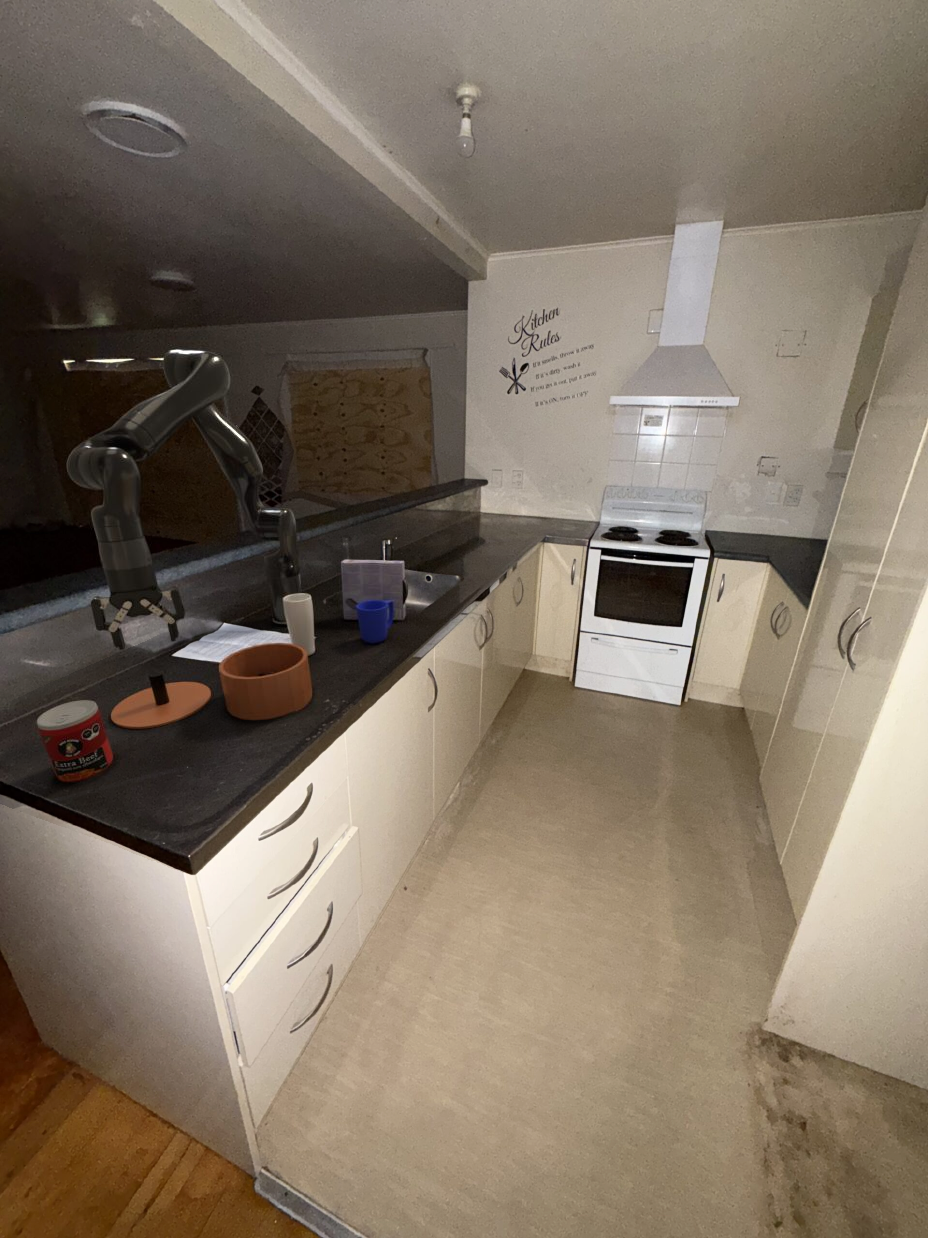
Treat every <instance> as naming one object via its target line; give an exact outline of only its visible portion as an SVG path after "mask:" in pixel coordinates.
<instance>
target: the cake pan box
mask: <svg viewBox="0 0 928 1238" xmlns="http://www.w3.org/2000/svg"><path fill="white" fill-rule="evenodd" d="M405 568H406V567H405V561H404V560H378V559H343V560H341V561H340V572H341V592H342V609H343V610H342V612H343V619H344V621H346V620H347V621H348V620H352V621H353V620H355V621H356V620H358V615H357V609H356V605H357V604H358V603H360V602H363V601H368V600H381V601H387V600H392V601H393V603H394V610H393V621H405V618H406V615H407V613H406V611H407V610H406V601H407V598H408V596H409V584H408V581H407V579H406V575H405V573H406V572H405ZM388 620H389V604H388ZM388 620H387V621H388Z"/></svg>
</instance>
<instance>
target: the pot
mask: <svg viewBox="0 0 928 1238" xmlns="http://www.w3.org/2000/svg"><path fill="white" fill-rule="evenodd" d="M272 671H275V674H270V675H269V672H272ZM218 672H219V676H220V681H221V686H222V691H223V696H224V700H225V705H226V710H227V712H228V713H229V714H230V715H231V716H233V717H235V718H238V719H241V720H247V721H261V720H271V719H274V718H275V719H276V718H278V717H283V716H285V715H288V714H290V713H293V712H295V713H297V712H299V711H301V710H302V709H304V708H305V707H306V706H307V705H308V704H310V702H311V700H312V697H313V685H312V678H311V677H312V676H311V670H310V662H309V656H308V655H307V652H306V650H305V649H304V648H302V647H301V646H298V645H294V644H292V643H291V642H290V643H289V642H288V643H287V642H273V643H272V642H271V643H262V644H257V645H256V644H255V645H252V646H248V647H245V648H242V649H239V650H237V651H235V652H232V653H231V654H229V655H228V656H226V657H225V658H223V659H222V660H221V662H220V663H219V665H218ZM262 673H264V674H265V676H259V677H258V674H262Z"/></svg>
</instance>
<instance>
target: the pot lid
mask: <svg viewBox="0 0 928 1238" xmlns="http://www.w3.org/2000/svg"><path fill="white" fill-rule="evenodd" d="M148 679H149V684H150V687H148V688H145V689H142V690H140V691H138V692H135V693H133V694H132V695H129V696H128V697H126V698H124V699H123V700H121V701H119V703H117V705H115V706H114V708H113V709H112V710H111V713H110V719H111V721H112V723H113V724H114V725H116V727H119V728H123V729H128V730H145V729H152V728H158V727H163V726H166V725H170V724H173V723H176V722H179V721H181V720H183V719H186V718H188V717H191V716H192V715H194V714H196V713H197V712H199V711H200V710H202V709H203V708H204V707H205V706H206V705H207V704H208V703H209V701H210V700H211V698H212V692H211V689H210V688H209V687H208V686H207V685H205V684H203V683H200V682H195V681H177V682H169V683H166V681H165V677H164V674H163V672H162V671H153V672H150V673H149V674H148Z"/></svg>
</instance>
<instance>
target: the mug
mask: <svg viewBox="0 0 928 1238" xmlns="http://www.w3.org/2000/svg"><path fill="white" fill-rule="evenodd" d="M388 604H389V620H388ZM356 609H357V615H358V624H359V625H358V626H359V631H360V637H361V639H362V641H363V642H365V643H368V644H378V643H381V642H384V641H385V640H386V639H387V637H388V629H390V627H391V626H393V625H392V624H393V621H394V620H393V610H394V603H393V601H392V600H387V601H381V600H368V601H363V602H360V603H358V604H357V605H356Z"/></svg>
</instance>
